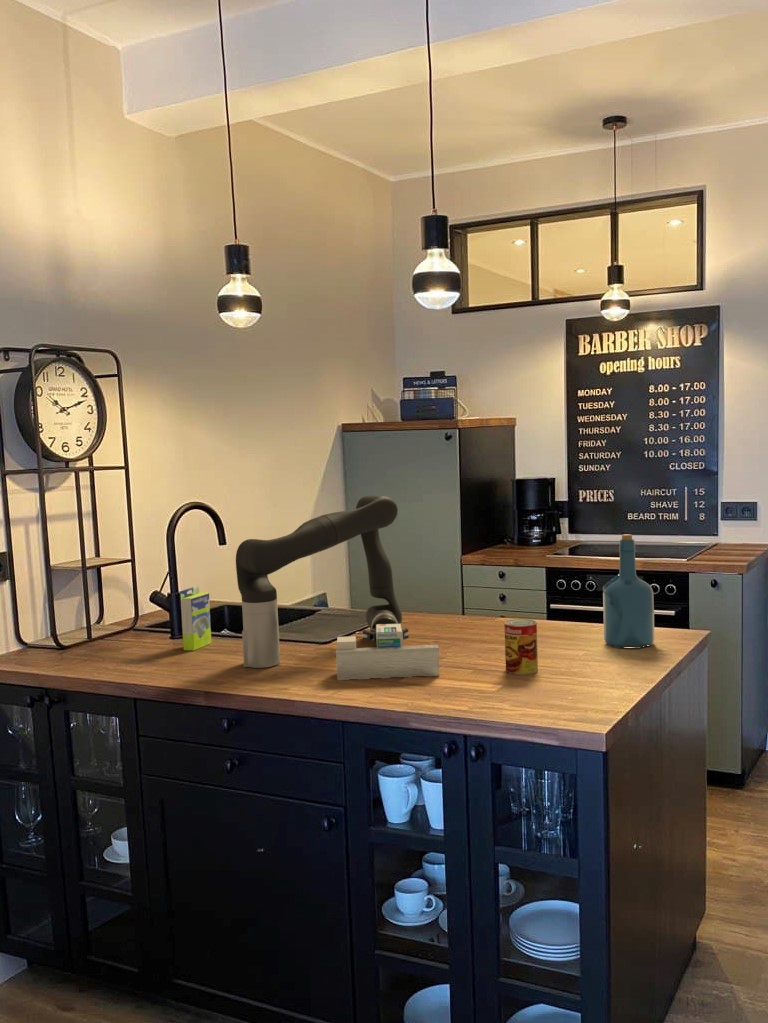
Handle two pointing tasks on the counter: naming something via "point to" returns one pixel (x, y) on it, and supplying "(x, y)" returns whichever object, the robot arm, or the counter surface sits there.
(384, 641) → the light bulb box
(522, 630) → the canned food
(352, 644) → the block
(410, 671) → the rail
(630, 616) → the wine bottle
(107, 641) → the counter surface
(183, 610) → the box
